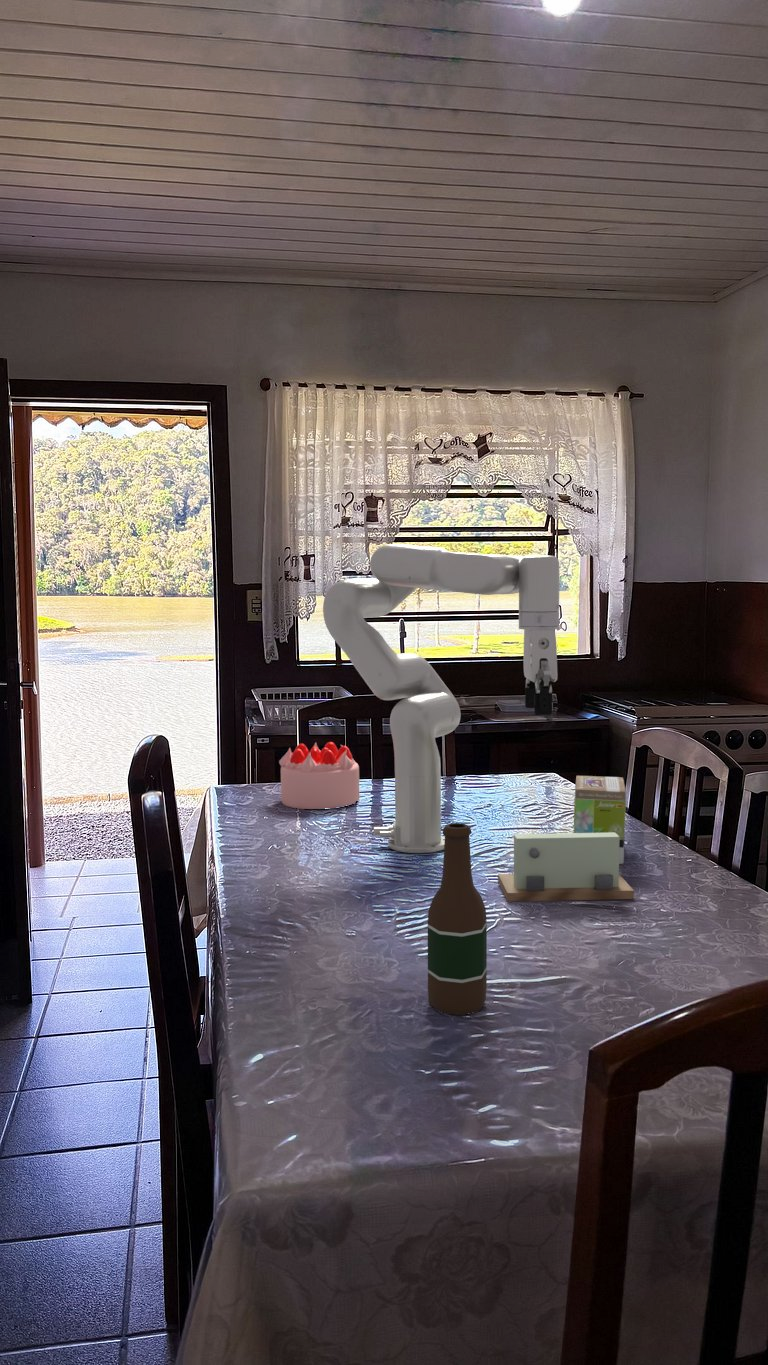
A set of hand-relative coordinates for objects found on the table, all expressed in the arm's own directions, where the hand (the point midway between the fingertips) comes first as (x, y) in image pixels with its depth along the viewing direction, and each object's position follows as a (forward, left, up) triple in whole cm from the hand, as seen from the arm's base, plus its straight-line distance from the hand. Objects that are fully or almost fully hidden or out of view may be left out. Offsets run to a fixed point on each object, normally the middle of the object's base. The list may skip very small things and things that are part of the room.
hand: (538, 711), depth 188 cm
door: (+2, -17, -29) cm, 33 cm away
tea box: (+14, +8, -31) cm, 35 cm away
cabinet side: (+2, -15, -30) cm, 34 cm away
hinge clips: (+2, -17, -29) cm, 34 cm away
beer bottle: (-22, -61, -31) cm, 72 cm away
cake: (-44, +59, -31) cm, 80 cm away
